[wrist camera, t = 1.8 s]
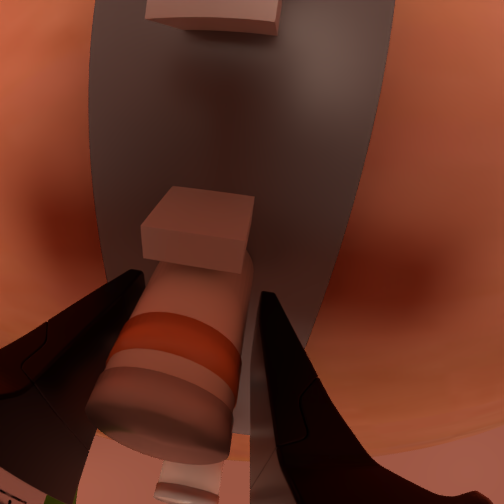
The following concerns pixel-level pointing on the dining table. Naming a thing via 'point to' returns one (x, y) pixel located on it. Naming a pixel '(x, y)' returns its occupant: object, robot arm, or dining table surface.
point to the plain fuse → (189, 483)
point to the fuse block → (234, 140)
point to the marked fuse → (177, 366)
